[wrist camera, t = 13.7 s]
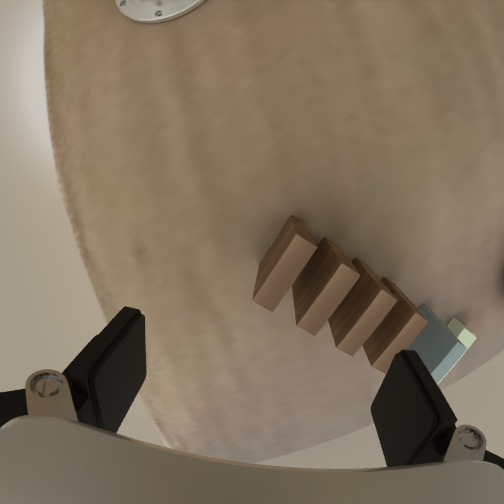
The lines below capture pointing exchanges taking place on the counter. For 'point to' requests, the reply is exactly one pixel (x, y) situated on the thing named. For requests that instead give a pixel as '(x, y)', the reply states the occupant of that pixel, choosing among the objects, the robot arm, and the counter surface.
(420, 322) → the domino
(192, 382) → the counter surface
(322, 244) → the domino
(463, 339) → the block
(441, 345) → the domino
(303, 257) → the domino
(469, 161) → the counter surface
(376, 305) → the domino
